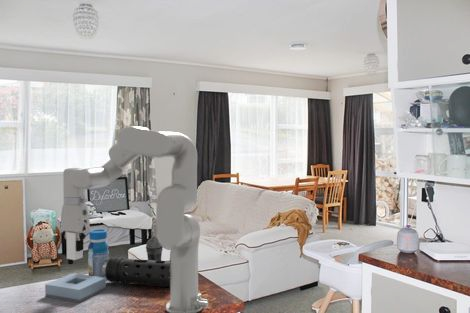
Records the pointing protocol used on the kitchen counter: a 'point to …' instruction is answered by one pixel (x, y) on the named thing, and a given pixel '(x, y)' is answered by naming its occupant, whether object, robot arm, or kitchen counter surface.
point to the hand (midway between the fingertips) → (74, 249)
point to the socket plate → (75, 287)
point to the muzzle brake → (137, 271)
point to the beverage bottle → (97, 252)
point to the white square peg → (73, 247)
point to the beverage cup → (154, 249)
